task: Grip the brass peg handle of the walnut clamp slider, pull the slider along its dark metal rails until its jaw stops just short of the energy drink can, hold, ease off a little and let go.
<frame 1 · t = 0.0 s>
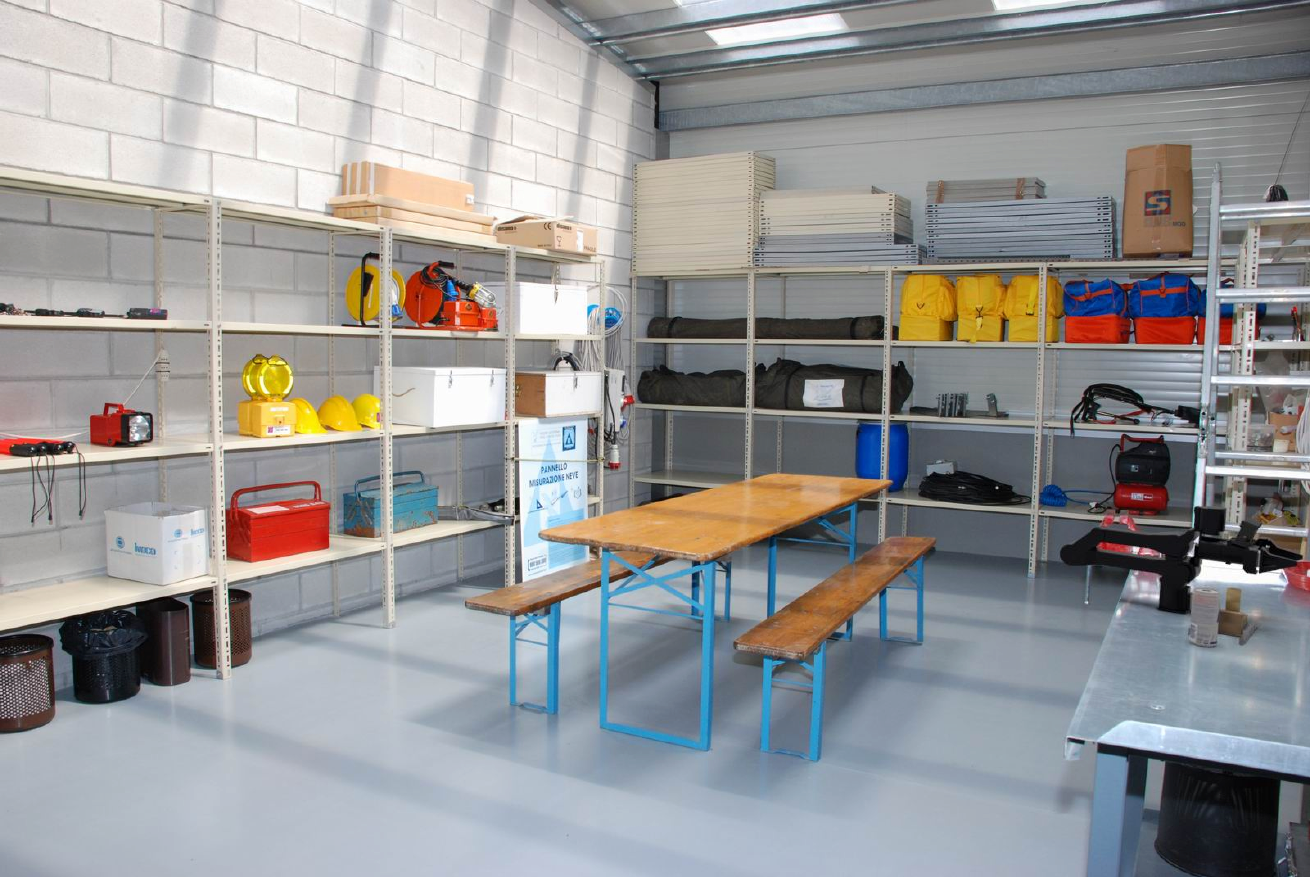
hand: (1300, 560, 225), 17 cm above the table, tool horizontal, fingers open, 9 cm apart
energy drink: (1202, 644, 215), on the table
clamp slider: (1228, 610, 228), point 4 cm above the table, slide at 0.0 cm
clamp rails: (1223, 631, 225), on the table
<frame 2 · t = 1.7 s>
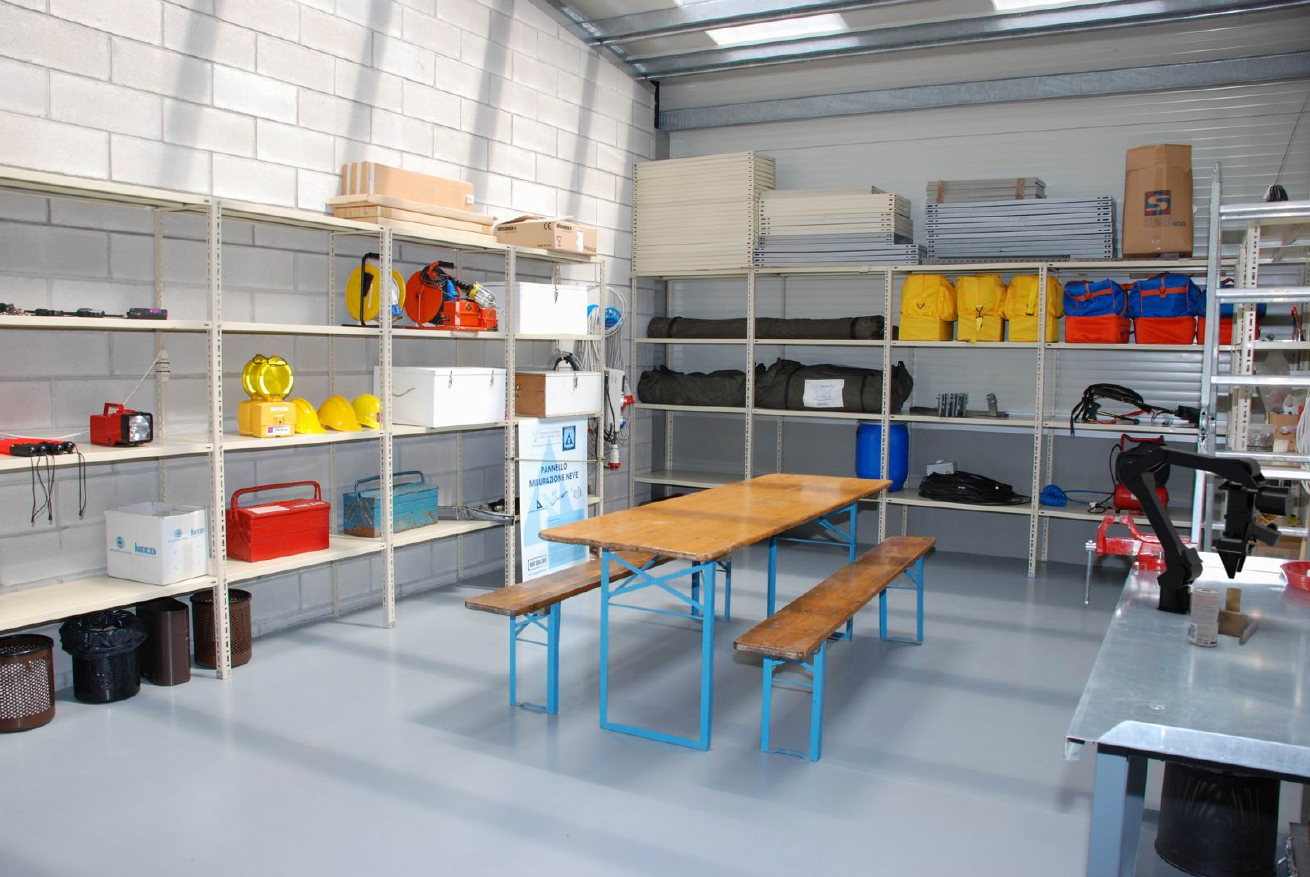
hand: (1234, 575, 232), 11 cm above the table, tool pointing down, fingers open, 9 cm apart
nothing on the table moved.
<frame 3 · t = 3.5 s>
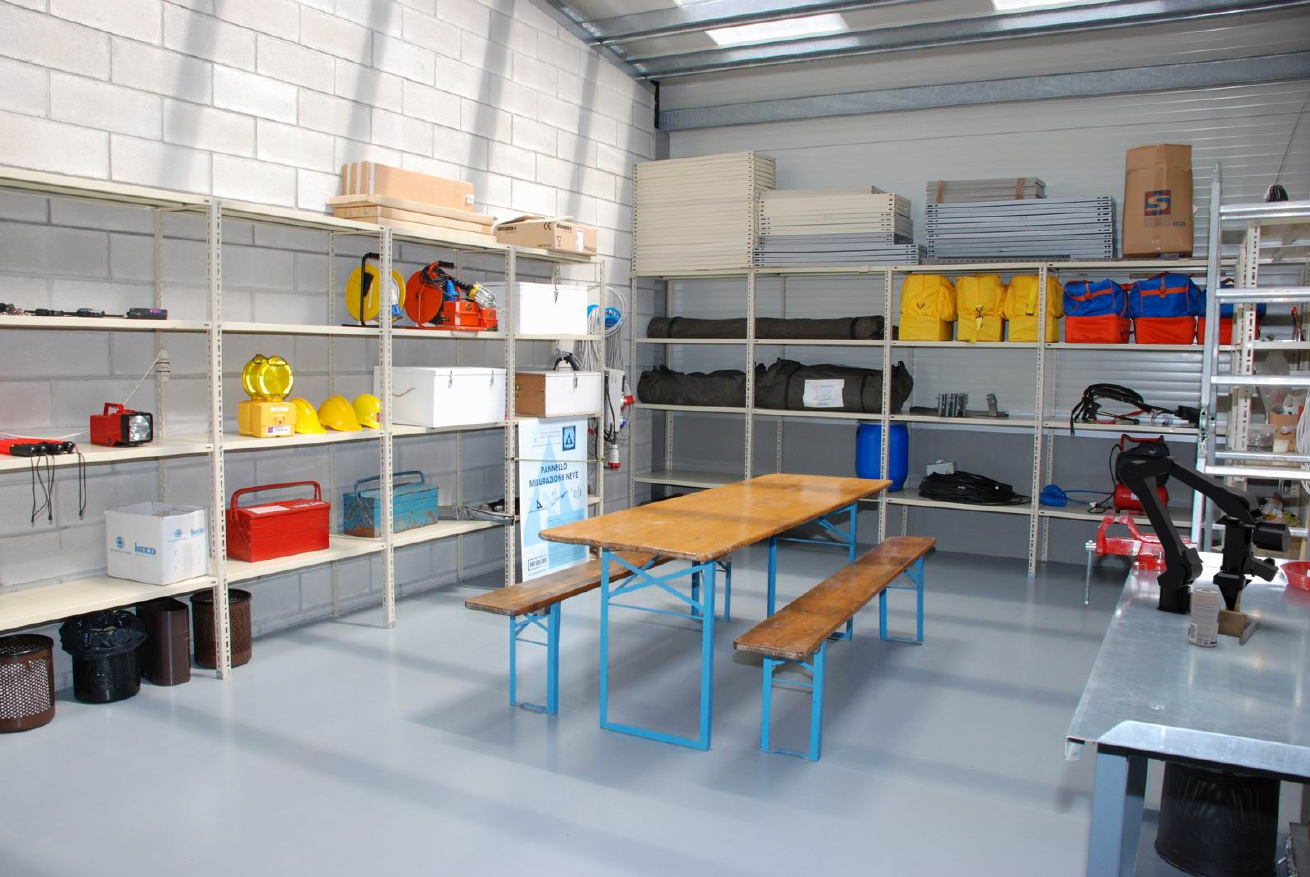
hand: (1232, 609, 233), 3 cm above the table, tool pointing down, fingers closed on clamp slider, 3 cm apart
clamp slider: (1228, 610, 228), point 4 cm above the table, slide at 0.0 cm, touching gripper
everything else where it was.
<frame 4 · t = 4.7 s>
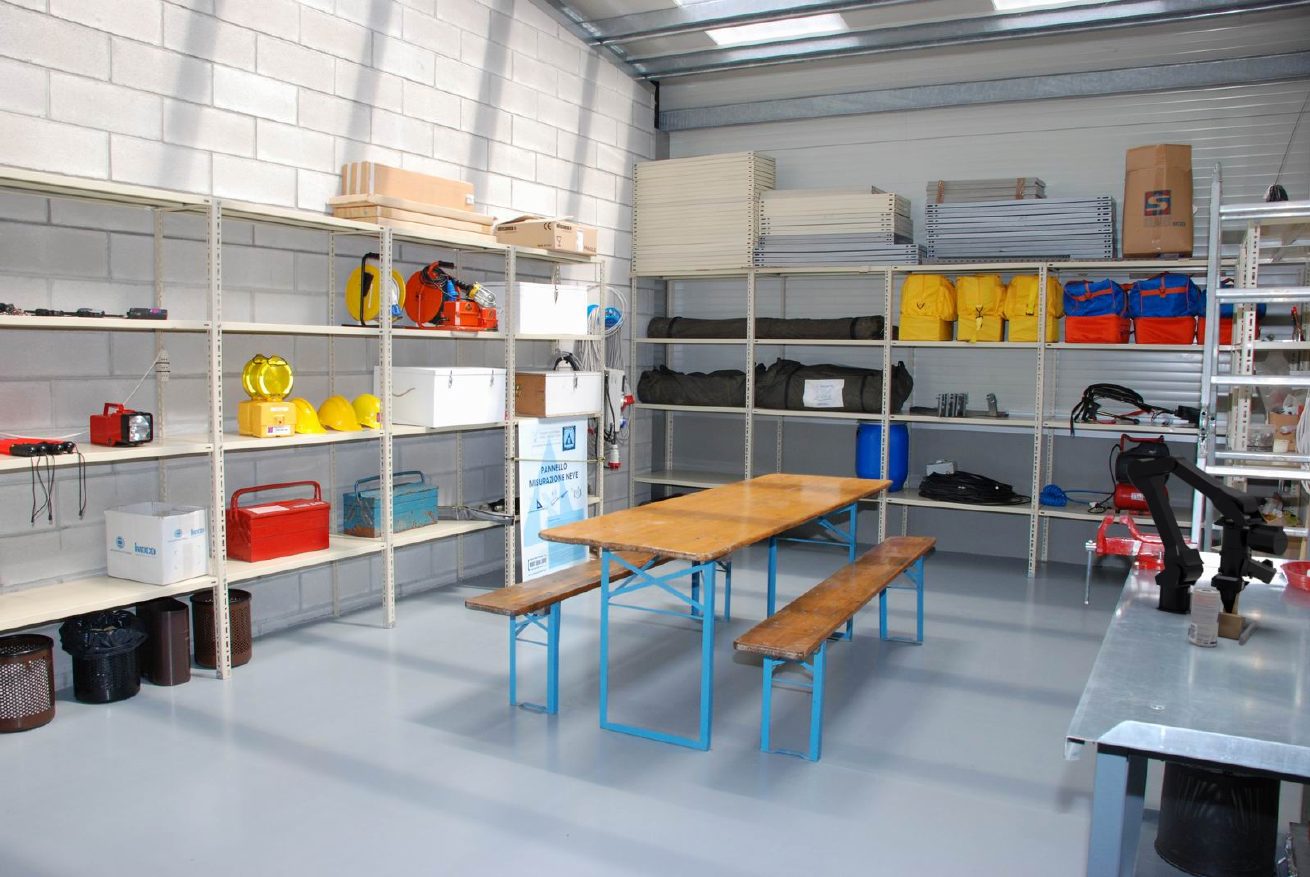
hand: (1230, 612, 231), 3 cm above the table, tool pointing down, fingers closed on clamp slider, 3 cm apart
clamp slider: (1225, 612, 226), point 4 cm above the table, slide at 2.8 cm, touching gripper
everything else where it was.
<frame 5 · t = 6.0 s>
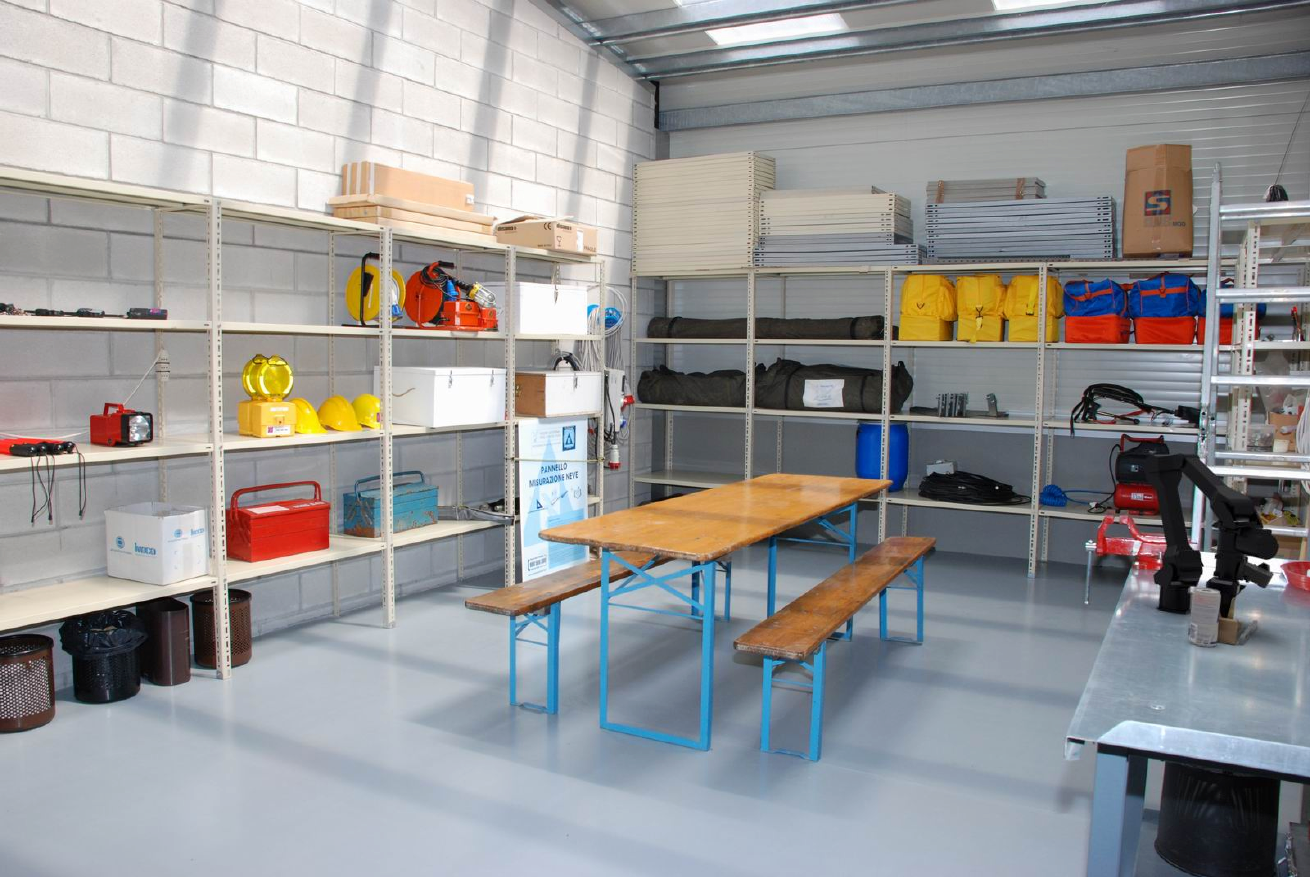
hand: (1225, 616, 227), 3 cm above the table, tool pointing down, fingers closed on clamp slider, 3 cm apart
clamp slider: (1221, 616, 222), point 4 cm above the table, slide at 7.9 cm, touching gripper
everything else where it was.
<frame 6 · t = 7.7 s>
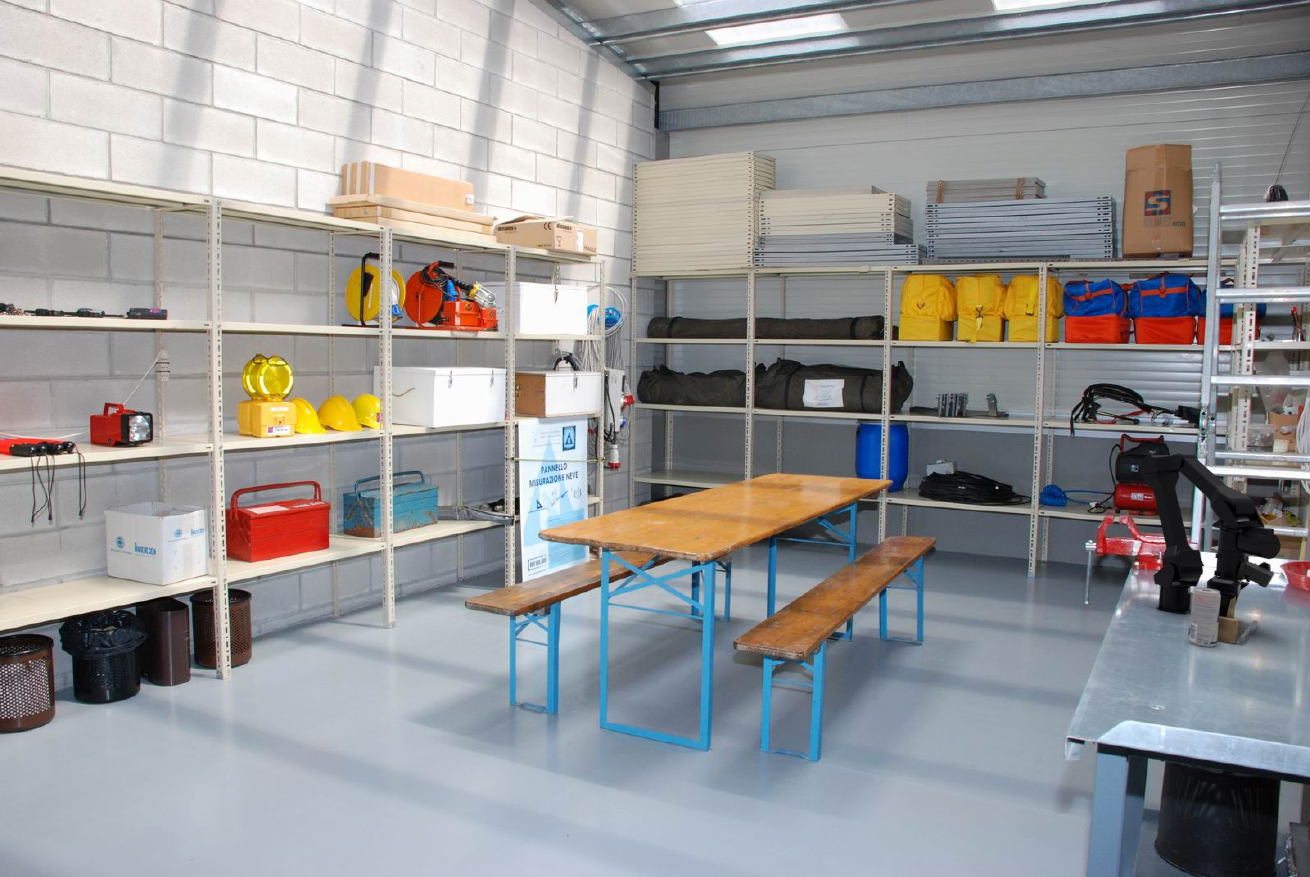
hand: (1226, 615, 227), 3 cm above the table, tool pointing down, fingers open, 9 cm apart
clamp slider: (1222, 616, 223), point 4 cm above the table, slide at 7.1 cm
everything else where it was.
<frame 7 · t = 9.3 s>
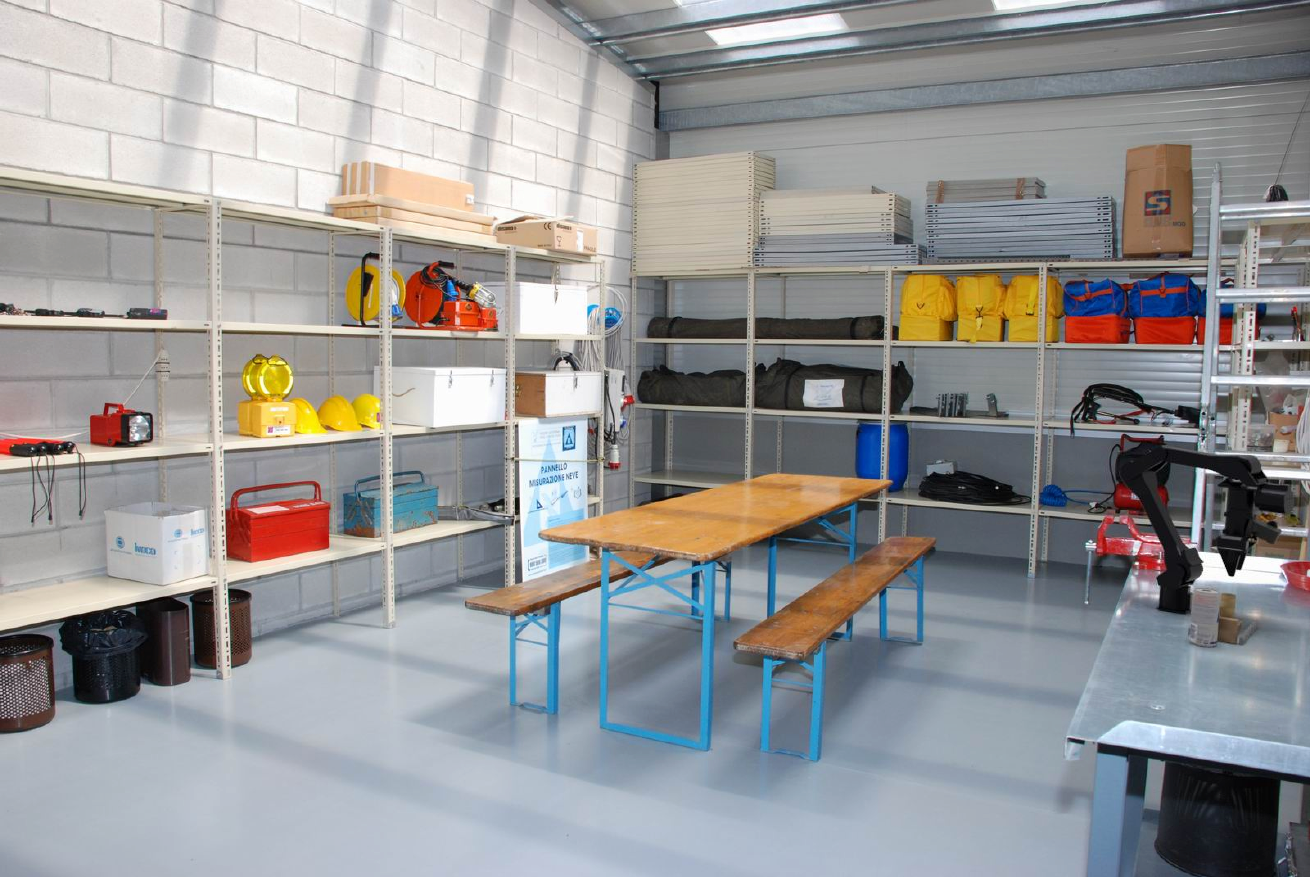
hand: (1235, 573, 231), 12 cm above the table, tool pointing down, fingers open, 9 cm apart
nothing on the table moved.
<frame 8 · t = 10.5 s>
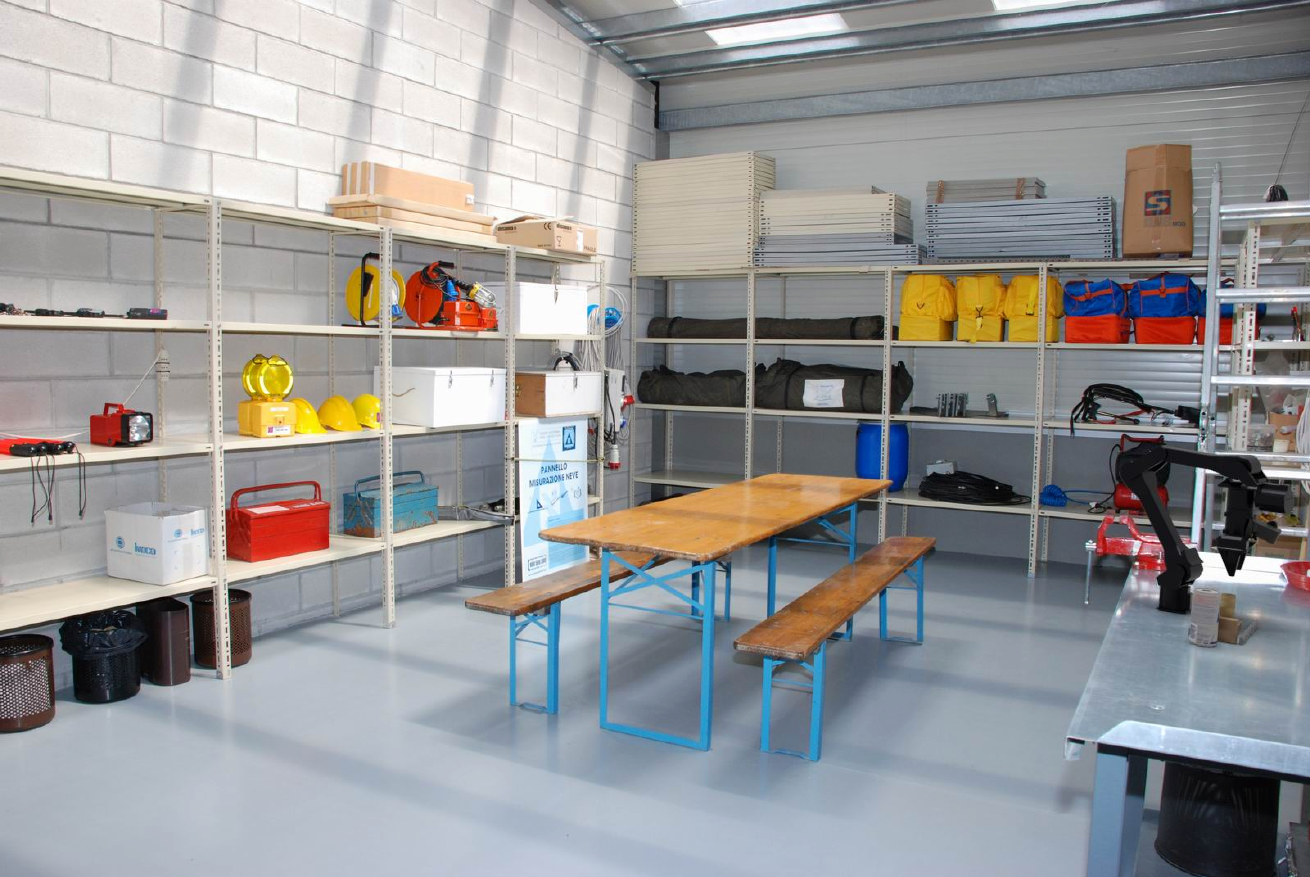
hand: (1235, 573, 231), 12 cm above the table, tool pointing down, fingers open, 9 cm apart
nothing on the table moved.
at the end: clamp slider slide at 7.1 cm; energy drink moved 0.2 cm from its start; energy drink tilted 0° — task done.
